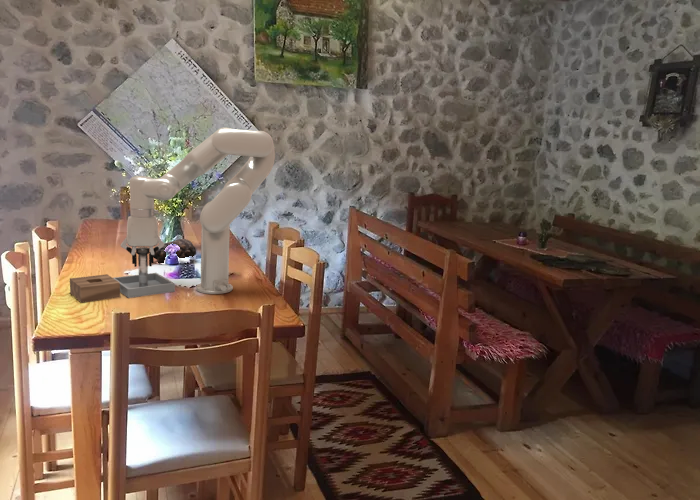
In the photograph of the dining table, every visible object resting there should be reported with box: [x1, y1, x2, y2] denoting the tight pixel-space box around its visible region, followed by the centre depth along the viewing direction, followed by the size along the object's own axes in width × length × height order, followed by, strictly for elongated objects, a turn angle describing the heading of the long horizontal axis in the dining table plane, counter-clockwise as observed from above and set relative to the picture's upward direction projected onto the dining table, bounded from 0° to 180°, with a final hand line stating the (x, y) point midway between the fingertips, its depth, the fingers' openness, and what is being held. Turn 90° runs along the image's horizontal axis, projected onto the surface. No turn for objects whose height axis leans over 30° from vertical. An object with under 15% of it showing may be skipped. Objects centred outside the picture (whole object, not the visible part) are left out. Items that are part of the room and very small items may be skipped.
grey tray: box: [112, 272, 176, 299], centre depth 202 cm, size 16×16×3 cm
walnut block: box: [69, 273, 121, 304], centre depth 192 cm, size 12×12×5 cm
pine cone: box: [154, 238, 197, 263], centre depth 240 cm, size 10×18×10 cm, turn 120°
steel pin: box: [135, 247, 150, 287], centre depth 201 cm, size 4×4×14 cm
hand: (142, 265), depth 201 cm, fingers open, 4 cm apart
